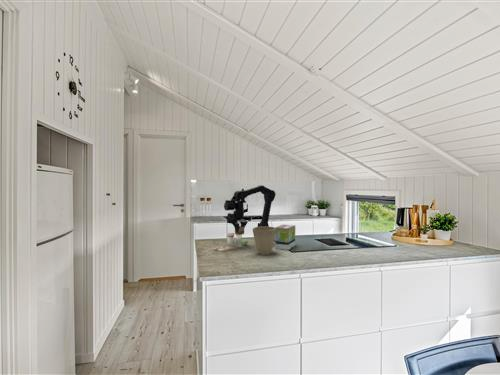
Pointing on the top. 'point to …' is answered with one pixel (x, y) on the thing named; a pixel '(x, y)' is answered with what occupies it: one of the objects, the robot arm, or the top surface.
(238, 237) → the jar
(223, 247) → the board
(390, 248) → the top surface
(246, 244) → the lime
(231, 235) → the jar
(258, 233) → the plant pot
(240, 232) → the token
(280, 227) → the tea box
